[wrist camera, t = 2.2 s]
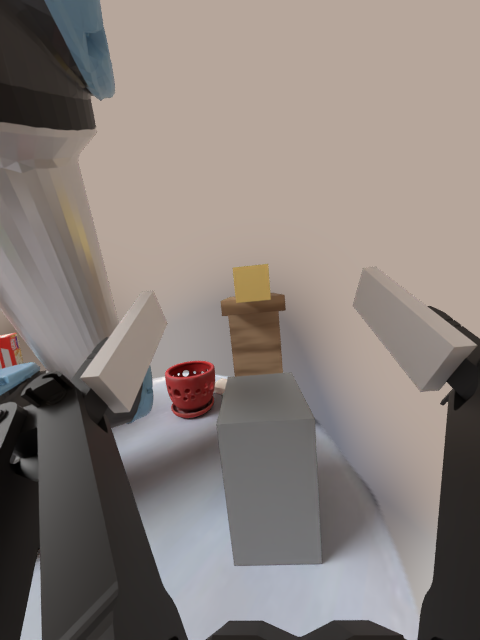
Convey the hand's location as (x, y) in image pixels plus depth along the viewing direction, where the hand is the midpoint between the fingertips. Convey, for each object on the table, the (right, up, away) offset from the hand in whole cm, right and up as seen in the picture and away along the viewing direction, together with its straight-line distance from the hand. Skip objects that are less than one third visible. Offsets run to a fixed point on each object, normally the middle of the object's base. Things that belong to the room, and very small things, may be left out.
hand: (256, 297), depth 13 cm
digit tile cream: (-6, -24, +54) cm, 59 cm away
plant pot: (-14, -26, +44) cm, 53 cm away
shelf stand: (+4, -26, +31) cm, 41 cm away
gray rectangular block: (+4, -29, +16) cm, 33 cm away
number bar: (+1, +2, +21) cm, 21 cm away
